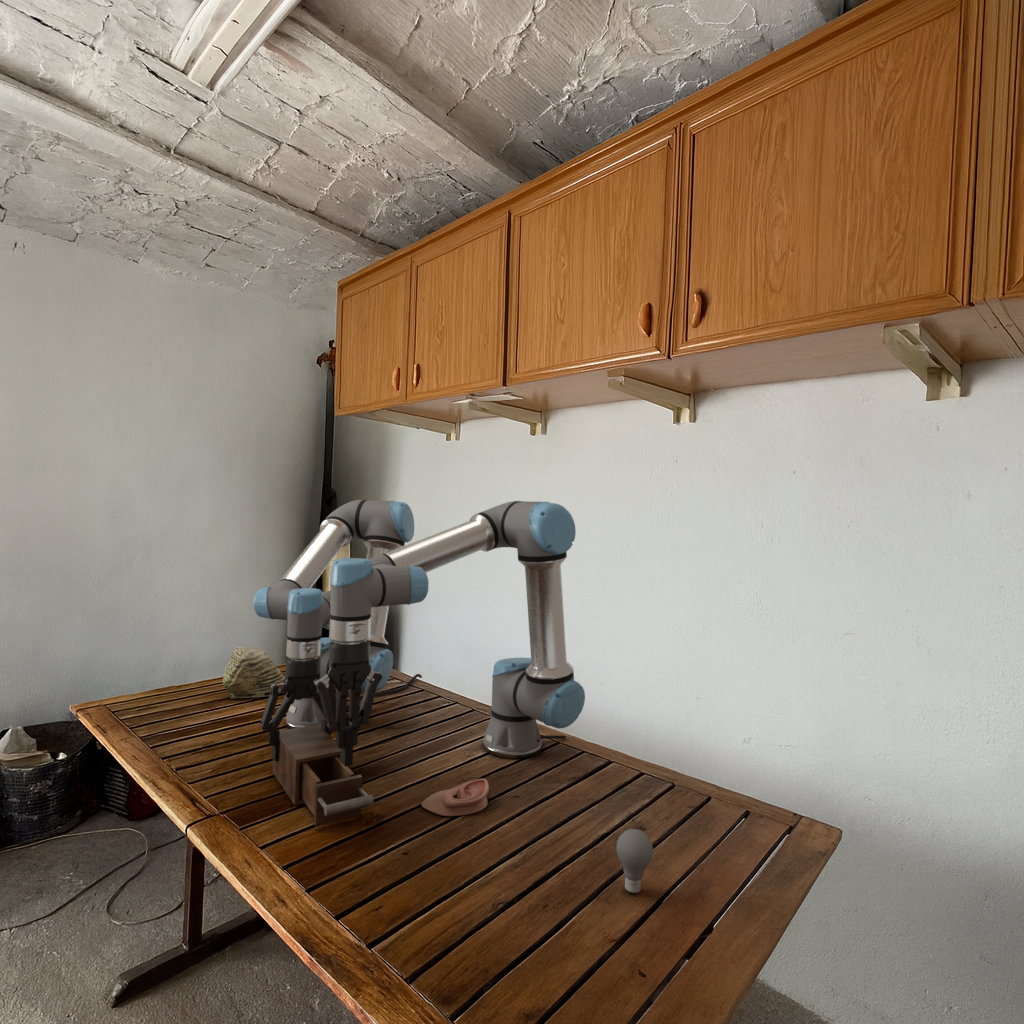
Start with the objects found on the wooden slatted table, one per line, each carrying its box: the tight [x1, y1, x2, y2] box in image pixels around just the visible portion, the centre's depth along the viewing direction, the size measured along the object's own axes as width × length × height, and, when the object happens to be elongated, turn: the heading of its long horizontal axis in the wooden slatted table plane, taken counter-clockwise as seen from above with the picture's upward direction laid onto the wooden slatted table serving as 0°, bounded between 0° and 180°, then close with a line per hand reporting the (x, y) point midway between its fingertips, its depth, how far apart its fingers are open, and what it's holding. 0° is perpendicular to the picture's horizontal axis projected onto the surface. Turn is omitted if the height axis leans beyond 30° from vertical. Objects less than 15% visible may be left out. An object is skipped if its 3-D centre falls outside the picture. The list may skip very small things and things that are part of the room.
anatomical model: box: [421, 778, 490, 817], centre depth 133 cm, size 13×4×12 cm
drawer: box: [299, 756, 375, 827], centre depth 127 cm, size 22×9×8 cm, turn 35°
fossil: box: [222, 646, 286, 699], centre depth 198 cm, size 9×18×15 cm, turn 132°
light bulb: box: [615, 828, 654, 894], centre depth 106 cm, size 6×6×10 cm
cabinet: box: [272, 724, 340, 806], centre depth 140 cm, size 18×10×10 cm, turn 35°
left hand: (300, 754), depth 144 cm, fingers closed on cabinet, 10 cm apart
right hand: (346, 763), depth 121 cm, fingers closed
